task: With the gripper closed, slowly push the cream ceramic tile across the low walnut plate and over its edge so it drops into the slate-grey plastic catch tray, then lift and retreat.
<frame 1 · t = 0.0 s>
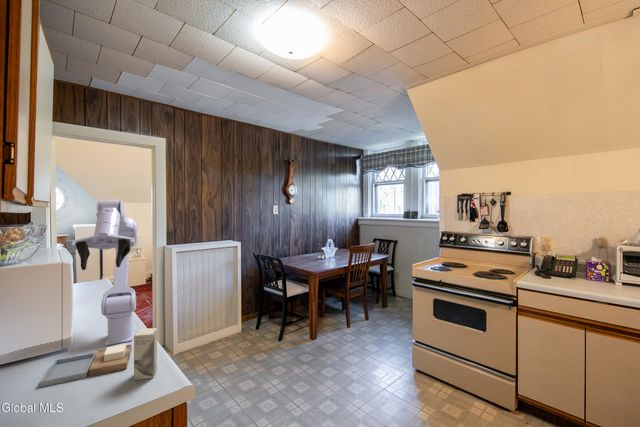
hand: (100, 266, 80), 32 cm above the countertop, tool tilted 50°, fingers open, 7 cm apart
tile: (115, 355, 92), point 2 cm above the countertop, touching plate
plate: (111, 362, 92), on the countertop
catch tray: (70, 370, 87), on the countertop
box: (146, 375, 86), on the countertop
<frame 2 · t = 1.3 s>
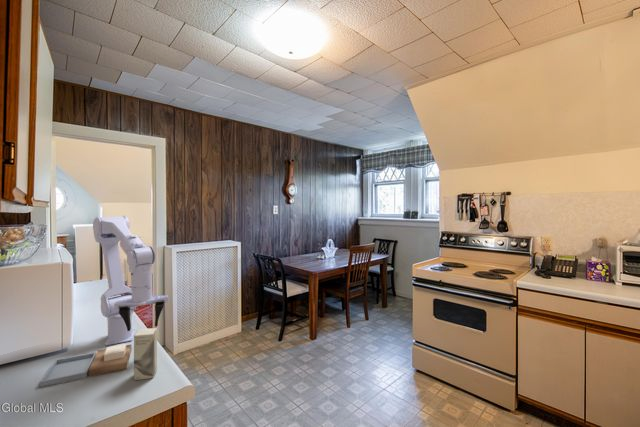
hand: (143, 327, 95), 9 cm above the countertop, tool pointing down, fingers open, 7 cm apart
nothing on the countertop moved.
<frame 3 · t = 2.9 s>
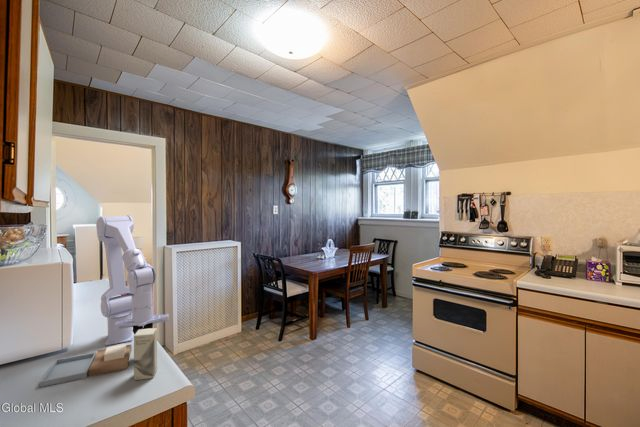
hand: (143, 347, 95), 3 cm above the countertop, tool pointing down, fingers closed
nothing on the countertop moved.
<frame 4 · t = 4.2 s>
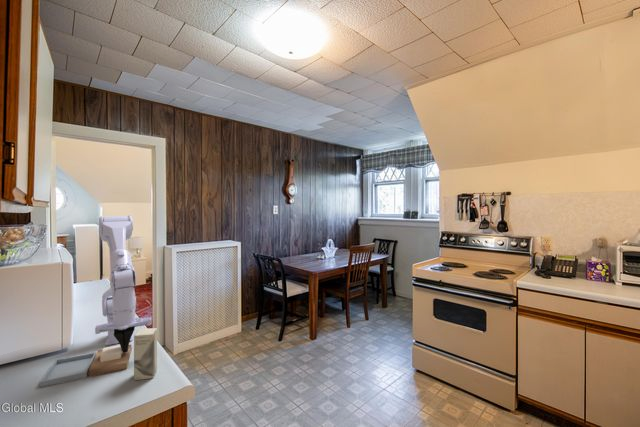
hand: (125, 351, 93), 3 cm above the countertop, tool pointing down, fingers closed
tile: (112, 356, 92), point 2 cm above the countertop, touching gripper, plate
everything else where it was.
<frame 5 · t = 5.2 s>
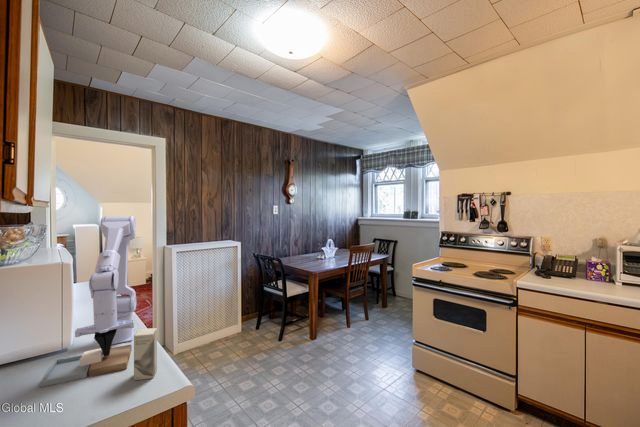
hand: (106, 354, 91), 3 cm above the countertop, tool pointing down, fingers closed
tile: (93, 359, 90), point 2 cm above the countertop, touching gripper, plate
everything else where it was.
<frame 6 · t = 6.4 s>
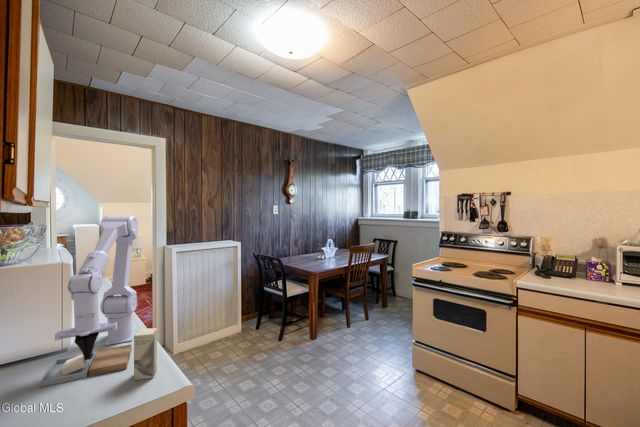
hand: (88, 358, 89), 3 cm above the countertop, tool pointing down, fingers closed
tile: (76, 366, 88), point 1 cm above the countertop, tilted 13°
everything else where it was.
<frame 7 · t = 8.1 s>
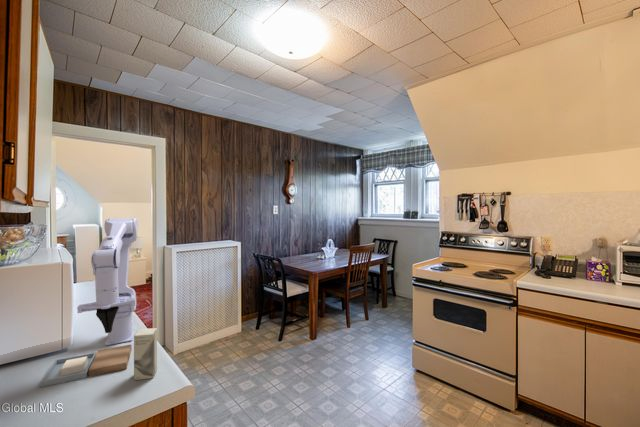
hand: (108, 331, 92), 9 cm above the countertop, tool pointing down, fingers closed
tile: (74, 368, 88), resting on catch tray
everything else where it was.
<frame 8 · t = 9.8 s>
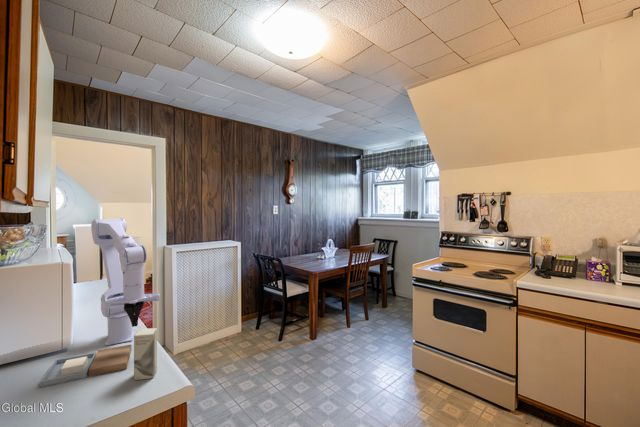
hand: (134, 325, 97), 9 cm above the countertop, tool pointing down, fingers closed
nothing on the countertop moved.
at the end: tile inside the target area on the catch tray (1.0 cm from its centre), point 0.3 cm above the catch tray's base; tile moved 10.2 cm from its start; the gripper is holding nothing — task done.
